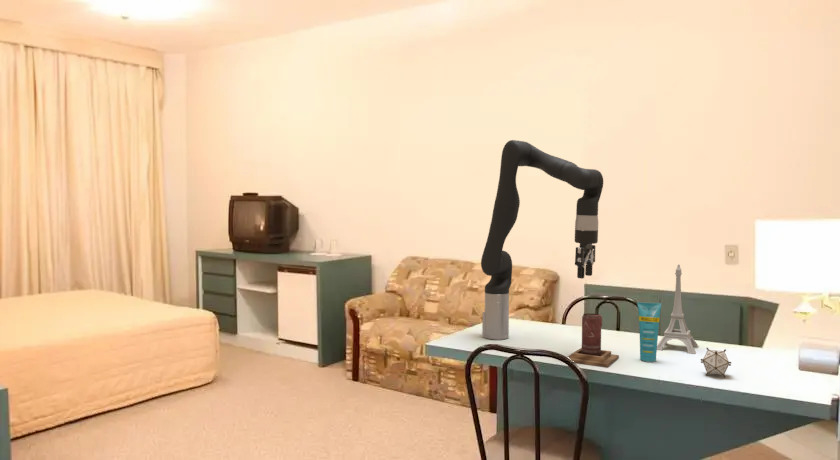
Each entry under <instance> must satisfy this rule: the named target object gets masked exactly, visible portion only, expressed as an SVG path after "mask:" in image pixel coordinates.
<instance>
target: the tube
mask: <svg viewBox="0 0 840 460" xmlns="http://www.w3.org/2000/svg"><path fill="white" fill-rule="evenodd" d="M636 303H637V304H636V305H637V311H638V322H639V323H638V325H639V328H638V329H639V359H640V361H643V362H646V363H654V362H656V361H657V352H658V350H657V345H658V337H659V327H660V326H659V325H660V317H661V312H662V310H661V309H662V302H645V301H643V302H641V301H637V302H636Z"/></svg>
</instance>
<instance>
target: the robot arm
mask: <svg viewBox="0 0 840 460" xmlns="http://www.w3.org/2000/svg"><path fill="white" fill-rule="evenodd" d="M500 157H501V159H500V169H499V179H498V184H497V191H496V196H495V199H494V200H495V201H494V204H493V210H492V215H491V216H492V217H491V222H490V224H489V225H490V226H489V229H488V230H489V231H488V234H487V240H486V243H485V246H484V249H483V252H482V256H481V259H480V266H481V270H482V272H483V274H485V275H486V276H489V277H490V278H489V281H488V282H487V283H485V284H486V285H484V311H483V312H482V318H481V319H482V320H481V321H482V329H481V331H482V336H481V338H485V339H488V340H498V341H499V340H501V341H502V340H508V339H509V337H510V335H509V331H510V329H509V328H510V317H509V316H510V287H511V286H512V277H513V260H512V257H511V255H510V254H509V252H507V251H505V250H503V249H504V244H505V242H506V239H507V237H508V236H509V234H510V232H511V230H512V229H513V227H514V226H515V224H516V222H517V219H518V214H519V209H520V206H521V205H520V204H521V203H520V202H521V200H520V195H519V191H518V188H517V174H518V169H519V167H528V168H529V167H530V168H535V169H539V170H540V171H543V172H544V173H545V174H547V175H548V176H550V177H552V178H555V179H557V180H559V181H562V182H564V183H567V184H568V185H570V186H572V187H573V188H576V189H578V190H580V191H581V190H582V191H583V193H582V194H583V195H582V197H580V198H578V199H577V201H576V211H575V212H576V213H575V221H574V243H577V244H579V245H578V246H575V257H574V265H575V266H576V267H577V272H576V273H577V275H576V277H577V278H578V279H583V280H584V279H585V276H587V277H590V276H591V277H592V276H593V265H594V263H595V262H596V247H597V246H596V245H595V244H597V243H598V242H599V241H598V239H599V216H598V215H599V202H600V199H601V194H602V191H603V189H604V176H603V175H602V173H601V171H599V170H598V169H593V168H583V167H580V166H578V165H577V164H575V163H574V162H572V161H569V160H566V159H564V158H561V157H559V156H555V155H552V154H549V153H546V152H544V151H543V150H541V149H539V148H537V147H536V146H534V145H532V144H531V143H529V142H527V141H524V140H516V139H515V140H514V139H512V140H508V141H507V142H506V143H505V144H504V146H503V149H502V152H501V156H500Z"/></svg>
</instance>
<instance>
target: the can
mask: <svg viewBox="0 0 840 460" xmlns="http://www.w3.org/2000/svg"><path fill="white" fill-rule="evenodd" d="M602 326H603V316H602V315H601V314H598V313H582V317H581V348H582V354H586V355H594V356H601V350H602Z"/></svg>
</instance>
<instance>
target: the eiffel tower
mask: <svg viewBox="0 0 840 460" xmlns="http://www.w3.org/2000/svg"><path fill="white" fill-rule="evenodd" d="M682 274H683V273H682V268H681V265H680V264H677V267H676V268H675V273H674V275H675V291H674V300H673V308H672V312H671V314H670V317H671V318H670V322H669V324H668V327H667V328H666V329H665V331H664V332H663V334H664V335H663V337H662V338H661V339H660V341H659V343H657V351H662V352H663V351H664V346H665V345H667V344H668V342H669V341H672V340H678V341H680V342H682V343H683V344H684V345H685V348H686V351H687V352H686V353H687V354H689V355H690V354H691V355H696V354H697V351H696V350H695V349H699V348H700V345H698V343H697V341H696V340H695V339H694V337H693V336H692V335H691V330H689V329H688V326H687V324H686V321H685V317H684V316H685V313H683V303H682V288H681V287H682V281H681V280H682V279H681V277H682ZM677 321H678V324H679V329H678V328H677V329H676V328H675V324H676V322H677Z"/></svg>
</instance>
